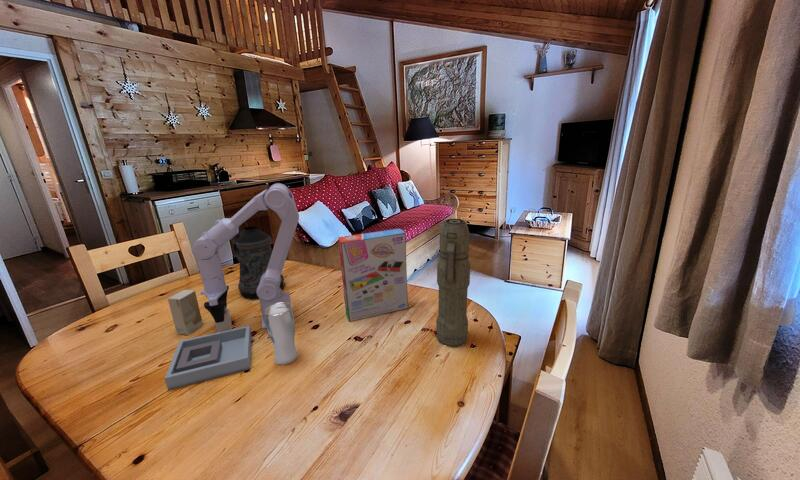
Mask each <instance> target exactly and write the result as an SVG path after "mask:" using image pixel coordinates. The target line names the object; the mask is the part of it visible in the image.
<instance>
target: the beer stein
mask: <svg viewBox="0 0 800 480" xmlns="http://www.w3.org/2000/svg"><path fill="white" fill-rule="evenodd" d="M272 240H273V239H272V237H271V235H269V234H267V232H264V231H261V230H260V229H259V228H258V227H257V226H247V227H243V230H239V232H238V234H237V235H235V237H233V240H232V244H231V248H232V252H233V254H234V256H235V258H236V260H237V261H238V263H239V282H238V286H237V287H238V291H239V293H240V295H241V297H243V299H246V300H252V301H253V300H259V297H258V296H257V292H256V291H257V287H258V286H259V283H260V279H261V276H262V275H263V274H264V273H265V272H266V270H267V267H268V264H269V261H270V257H271V254H272V251H273V248H272V245H271V243H272ZM284 284H285V278H284V275H283V274H282V273H281V283H280V286H279V287H280V288H281V289H282V291H283V290H284V288H285V287H284V286H285V285H284Z"/></svg>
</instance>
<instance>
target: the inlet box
mask: <svg viewBox="0 0 800 480" xmlns="http://www.w3.org/2000/svg"><path fill="white" fill-rule="evenodd" d="M252 337H253V336H252V331H251V326H250V325H245V326H241V327H237V328H236V327H235V328H231V330H226V331H222V332H217V331H216V332H214V333H208V334H205V335H200V336H196V337H190V338H186V339H182V340H181V339H180V340H179V342H178V343H177V346H176V349H175V351H174V354H173V356H172V358H171V362H170V364H169V367H168V369H167V372H166V374H165V376H164V381H165V384H166V387H167V390H168V391H171V390H175V389H179V388H182V387H187V386H191V385H194V384H199V383H201V382H205V381H209V380H213V379H217V378H221V377H224V376H225V377H226V376H229V375H232V374H237V373H240V372H243V371H248V370H251V360H252V359H251V358H252V355H251V354H252V340H253V339H252Z"/></svg>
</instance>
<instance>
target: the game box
mask: <svg viewBox="0 0 800 480" xmlns="http://www.w3.org/2000/svg"><path fill="white" fill-rule="evenodd" d="M406 236H407V235H406V232H405V231H404V230H403V229H401V228H394V229H387V230H380V231H374V232H372V231H371V232H365V233H360V234H358V233H357V234H353V235H344V236H338V238H337V239H338V250H339V258H340V259H339V261H340V268H341V276H342V277H341V278H342V279H341V280H342V287H343V289H342V290H343V297H344V307H345V315H346V317H347V321H348V323H349V322H355V321H357V320H358V321H359V320H362V319H367V318H372V317H376V316H380V315H384V314H389V313H393V312H397V311H402V310H406V309H409V296H408V295H409V294H408V293H409V292H408V275H407V271H408V270H407V245H406V244H407V243H406V242H407V240H406V239H407V237H406Z"/></svg>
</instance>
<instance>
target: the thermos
mask: <svg viewBox="0 0 800 480" xmlns="http://www.w3.org/2000/svg"><path fill="white" fill-rule="evenodd" d="M469 249H470V231H469V227H468V222H467V221H466V220H464V219H460V218H448V219H446V220H444V221H443V222H442V224H441V227H440V230H439V258H438V261H437V264H436V283H437V285H438V306H437V307H438V311H437V312H438V313H437V314H438V315H437V317H436V324H435V325H436V327H435V328H436V329H435V330H436V339H438V340H437V342H439V344H441V345H442V346H444V345H446V346H445V347H448V346H450V347H449V348H458V346H459V347H462V346H464V345H465V344H466V343H467V341H468V333H469V319H468V316H467V314H468V313H467V312H468V289H469V286H470V284H471V283H470V281H471V280H470V279H471V263H470V260H469V253H468V252H469ZM463 344H464V345H463ZM461 345H462V346H461Z"/></svg>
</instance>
